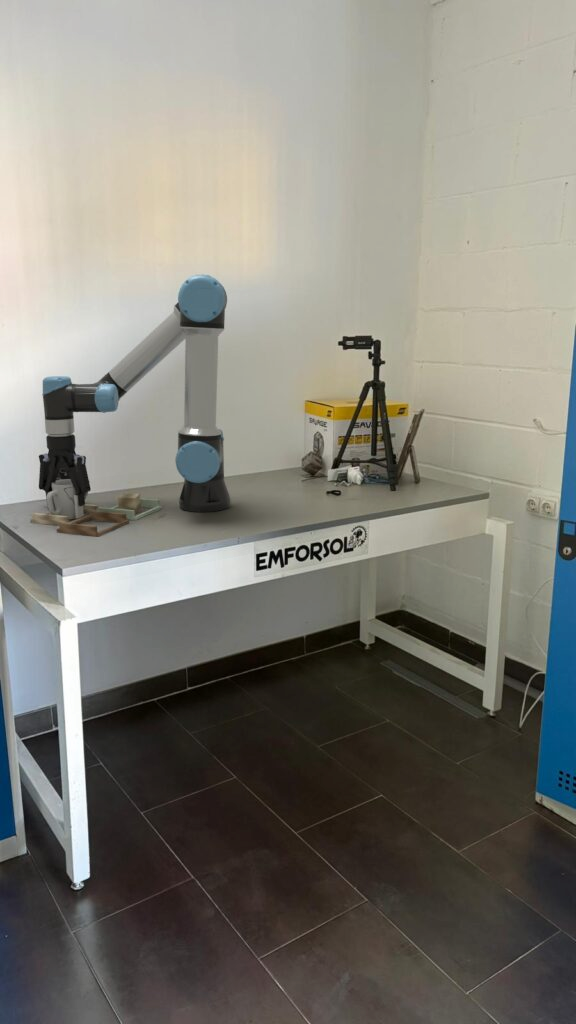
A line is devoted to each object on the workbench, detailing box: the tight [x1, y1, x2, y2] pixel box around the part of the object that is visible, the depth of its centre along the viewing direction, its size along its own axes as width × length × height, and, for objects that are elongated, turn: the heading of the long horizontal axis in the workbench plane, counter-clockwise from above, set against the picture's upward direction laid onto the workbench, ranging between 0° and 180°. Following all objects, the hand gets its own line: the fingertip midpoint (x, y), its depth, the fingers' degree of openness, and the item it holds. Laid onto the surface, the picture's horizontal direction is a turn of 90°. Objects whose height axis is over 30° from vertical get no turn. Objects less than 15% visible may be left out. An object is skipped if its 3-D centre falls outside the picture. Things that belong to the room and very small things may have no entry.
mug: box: [45, 479, 78, 521], centre depth 213 cm, size 11×8×10 cm
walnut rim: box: [56, 510, 130, 537], centre depth 204 cm, size 13×15×2 cm
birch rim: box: [30, 503, 99, 526], centre depth 214 cm, size 13×15×2 cm
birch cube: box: [117, 493, 142, 516], centre depth 221 cm, size 5×5×5 cm
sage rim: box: [98, 497, 163, 521], centre depth 221 cm, size 13×15×2 cm
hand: (66, 515), depth 214 cm, fingers closed on mug, 8 cm apart
